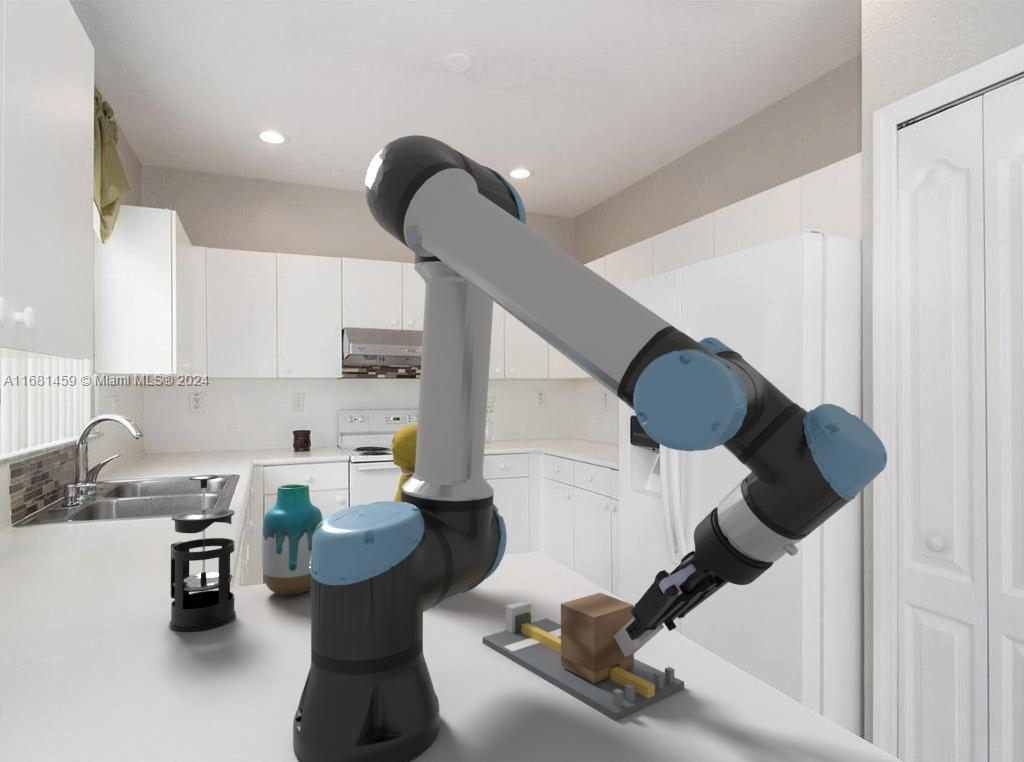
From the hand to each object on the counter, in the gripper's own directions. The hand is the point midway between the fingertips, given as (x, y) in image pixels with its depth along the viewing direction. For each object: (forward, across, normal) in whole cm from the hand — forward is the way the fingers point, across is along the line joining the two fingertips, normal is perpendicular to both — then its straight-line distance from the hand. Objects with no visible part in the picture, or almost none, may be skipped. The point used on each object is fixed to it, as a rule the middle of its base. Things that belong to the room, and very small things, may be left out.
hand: (623, 644), depth 75 cm
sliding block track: (+10, 0, +2) cm, 10 cm away
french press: (+43, -37, +36) cm, 67 cm away
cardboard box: (+6, 0, 0) cm, 6 cm away
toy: (+40, -2, +32) cm, 51 cm away
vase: (+47, -21, +39) cm, 64 cm away
